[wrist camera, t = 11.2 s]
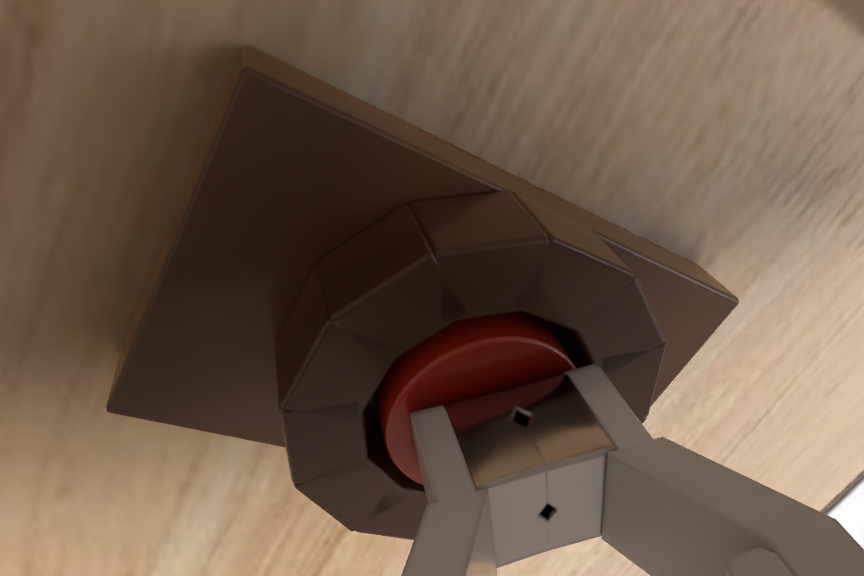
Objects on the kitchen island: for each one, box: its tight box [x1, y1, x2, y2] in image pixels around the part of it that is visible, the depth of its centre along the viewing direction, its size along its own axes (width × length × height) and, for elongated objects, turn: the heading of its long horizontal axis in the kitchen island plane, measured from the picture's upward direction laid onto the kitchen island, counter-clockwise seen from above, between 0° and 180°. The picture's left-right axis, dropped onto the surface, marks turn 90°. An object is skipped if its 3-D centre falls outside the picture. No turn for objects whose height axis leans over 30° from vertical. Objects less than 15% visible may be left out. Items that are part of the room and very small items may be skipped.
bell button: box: [373, 311, 576, 485], centre depth 10 cm, size 3×3×2 cm
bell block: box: [106, 45, 739, 540], centre depth 11 cm, size 10×6×3 cm, turn 60°
